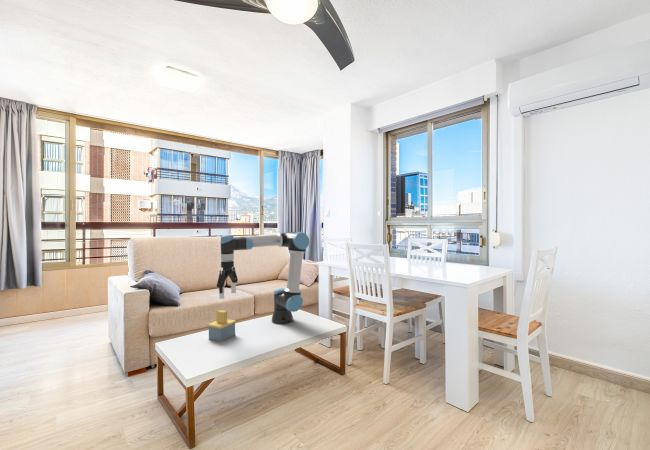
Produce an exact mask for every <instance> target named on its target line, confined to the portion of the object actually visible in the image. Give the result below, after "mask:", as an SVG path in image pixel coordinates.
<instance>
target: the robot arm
mask: <svg viewBox="0 0 650 450" xmlns="http://www.w3.org/2000/svg"><path fill="white" fill-rule="evenodd" d="M219 242H220V243H219V244H220V268H222V269H220V270H219V275H218V279H217V283H216V287H217V288H218V293H219V299H225V287H224V286H225V283H226V280H227V279H228V278H229V279H230V281H231V283H230V286H231V287H230V290H231V292H230V293H231V294H237V292H236V290H237V283H238V279H239V278H238V275H237V272H236V267H235V261H234V259H235V258H234V256H235V254H234V253H235V252H234V251H245V250H247V251H249V250H252V249H253V248H263V247H276V246H277V247H279V248H281V247H282V248H283V247H284V248H288V252H289V253H290V256H289V263H288V271H287V272H288V274H287V283H286V287H283V288H277V289H274V292H273V314H272V316H271V322H272V323H274V324H276V325H277V324H278V325H283V324H285V325H286V324H289V323H291V322H293V321H294V316H293V314H292V313H295V312H298V311H299V310H300V309H301V308H302V306H303V305H304V304H303V303H304V300H303V297H302V296H301V293H302V291H301V290H300V285H301V284H300V283H301V276H302V275H301V273H302V264H303V257H304V254H305V253H306V249H307V248H308V247H309V245H310V238H309V236H308V235H307V234H306V233H305V232H303V231H289V232H281V233H280V232H279V233H277V234H269V235H252V236H234V235H232V234H227V235H226V234H222V235H221V236H220V241H219Z"/></svg>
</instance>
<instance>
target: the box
mask: <svg viewBox="0 0 650 450" xmlns="http://www.w3.org/2000/svg"><path fill="white" fill-rule="evenodd" d="M234 336H236V323H233V324H231V325H228V326H226V327H224V328H221V329H219V328H215V327H210V326H208V340H211V341H212V340H213V341H216V342H220V343H221V342H224V341H225V340H227V339H231V338H232V337H234Z"/></svg>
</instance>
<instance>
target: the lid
mask: <svg viewBox="0 0 650 450" xmlns="http://www.w3.org/2000/svg"><path fill="white" fill-rule="evenodd" d="M236 322H237V321H236V320H235V319H230V318H228V310H223V309H219V310H216V320H215V321H212V322H210V323H207V327H209V326H210V327H215V328H219V329H221V328H224V327H226V326H228V325H231V324H233V323H235V324H236Z"/></svg>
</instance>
